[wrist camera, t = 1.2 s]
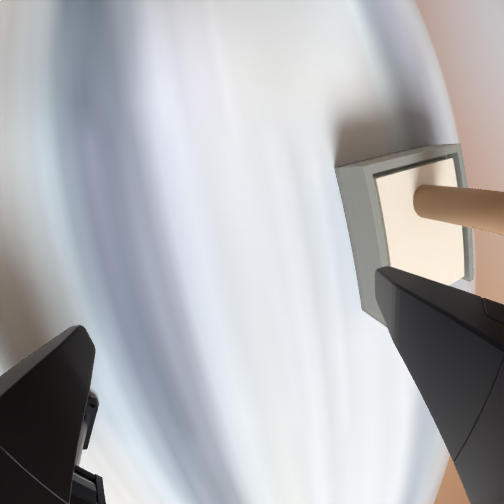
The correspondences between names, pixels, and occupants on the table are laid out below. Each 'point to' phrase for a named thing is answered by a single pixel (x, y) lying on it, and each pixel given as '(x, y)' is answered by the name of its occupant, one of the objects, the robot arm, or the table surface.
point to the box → (369, 218)
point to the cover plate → (419, 234)
